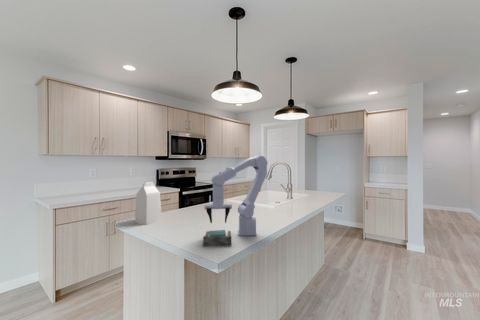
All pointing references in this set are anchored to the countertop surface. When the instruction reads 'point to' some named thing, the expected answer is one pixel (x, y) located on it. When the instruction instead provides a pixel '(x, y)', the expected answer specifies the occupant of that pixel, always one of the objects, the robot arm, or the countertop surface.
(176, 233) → the countertop surface
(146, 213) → the milk
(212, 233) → the block
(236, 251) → the countertop surface
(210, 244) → the guide lane
